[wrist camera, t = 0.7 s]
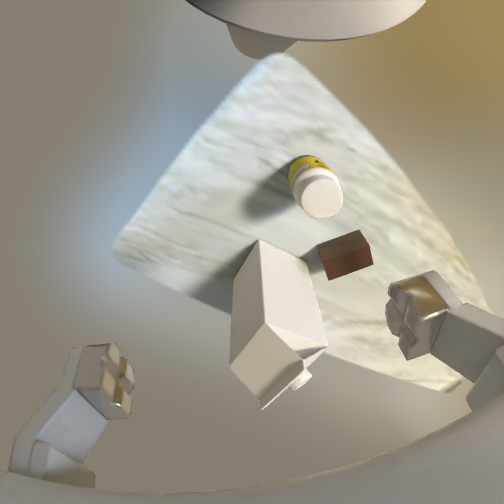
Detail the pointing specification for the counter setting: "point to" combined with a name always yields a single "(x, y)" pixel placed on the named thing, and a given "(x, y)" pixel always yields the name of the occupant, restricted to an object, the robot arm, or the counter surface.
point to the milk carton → (274, 323)
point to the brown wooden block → (345, 255)
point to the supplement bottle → (314, 187)
